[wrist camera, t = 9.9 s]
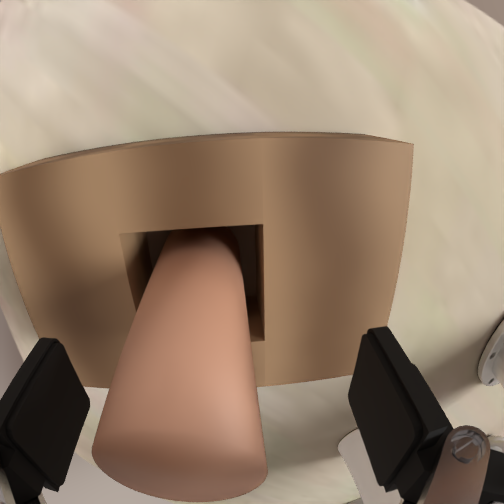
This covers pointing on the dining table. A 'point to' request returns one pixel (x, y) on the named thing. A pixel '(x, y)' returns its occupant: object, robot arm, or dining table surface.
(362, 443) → the cosmetic bottle
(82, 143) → the dining table surface
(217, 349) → the peg
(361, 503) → the lumpy-topped squat cylinder
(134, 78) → the dining table surface
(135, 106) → the dining table surface
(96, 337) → the socket board
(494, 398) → the dining table surface
